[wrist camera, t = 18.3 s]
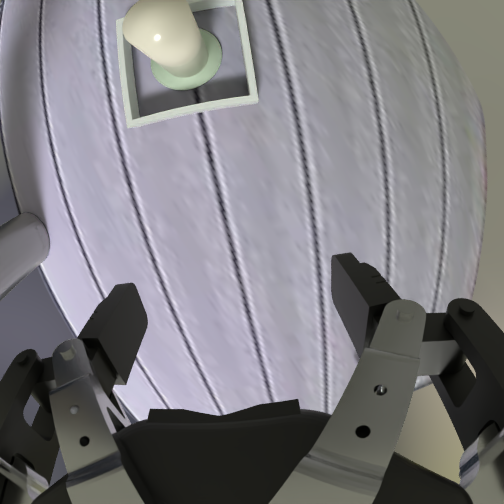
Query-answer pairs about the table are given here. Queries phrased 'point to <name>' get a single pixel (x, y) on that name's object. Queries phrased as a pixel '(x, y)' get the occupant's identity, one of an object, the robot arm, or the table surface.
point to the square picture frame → (197, 2)
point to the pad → (199, 78)
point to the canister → (167, 35)
